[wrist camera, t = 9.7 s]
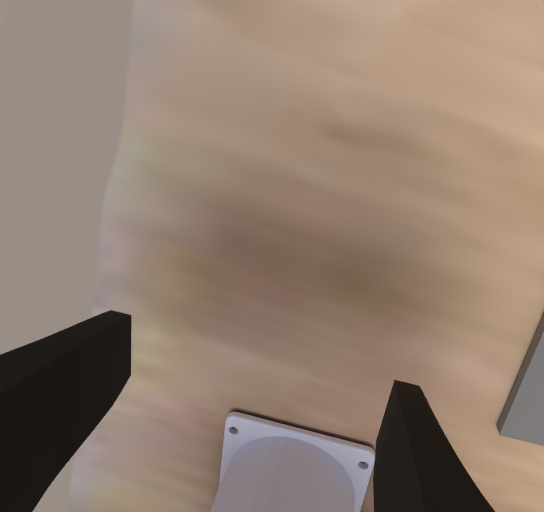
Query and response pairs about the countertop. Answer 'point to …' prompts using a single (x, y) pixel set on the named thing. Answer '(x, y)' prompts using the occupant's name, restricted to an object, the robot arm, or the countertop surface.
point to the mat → (527, 397)
